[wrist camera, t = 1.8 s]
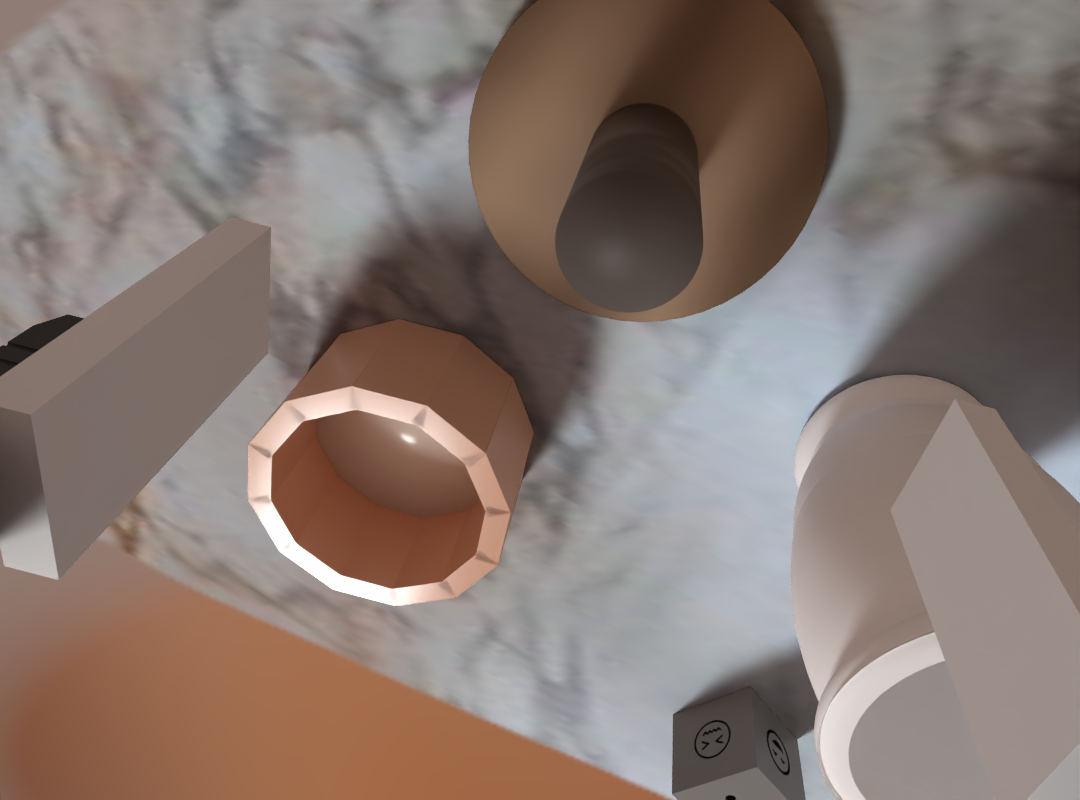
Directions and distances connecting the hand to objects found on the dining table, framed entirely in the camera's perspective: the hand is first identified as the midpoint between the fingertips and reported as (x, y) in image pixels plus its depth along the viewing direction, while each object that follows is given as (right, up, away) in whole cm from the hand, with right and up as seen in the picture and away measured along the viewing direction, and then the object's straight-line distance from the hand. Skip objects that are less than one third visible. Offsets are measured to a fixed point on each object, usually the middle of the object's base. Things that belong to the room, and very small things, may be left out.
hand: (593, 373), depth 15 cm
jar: (+14, -3, +20) cm, 25 cm away
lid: (+3, +9, +15) cm, 18 cm away
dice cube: (+10, -19, +31) cm, 37 cm away
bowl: (-7, -2, +23) cm, 24 cm away
